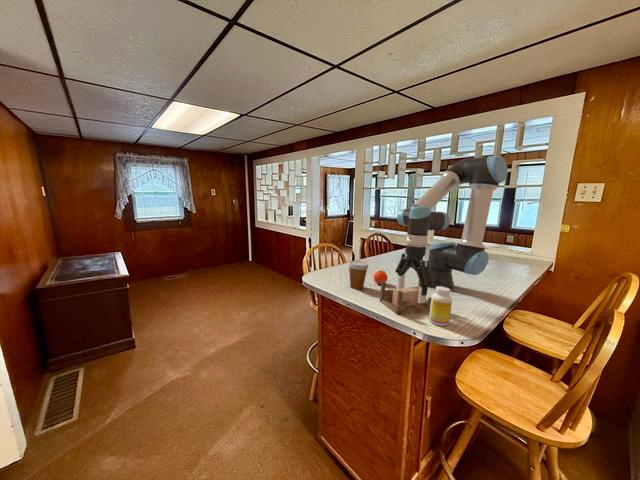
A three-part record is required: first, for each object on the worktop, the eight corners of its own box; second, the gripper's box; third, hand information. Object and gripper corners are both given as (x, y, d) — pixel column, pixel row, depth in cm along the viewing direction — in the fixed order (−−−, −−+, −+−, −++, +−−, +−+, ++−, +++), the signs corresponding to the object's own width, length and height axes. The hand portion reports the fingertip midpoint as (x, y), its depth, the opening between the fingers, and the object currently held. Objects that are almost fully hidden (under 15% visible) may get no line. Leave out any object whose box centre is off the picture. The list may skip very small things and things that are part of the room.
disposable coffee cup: (367, 285, 131) (369, 262, 129) (365, 291, 122) (367, 266, 120) (348, 282, 133) (350, 259, 131) (345, 288, 124) (347, 264, 122)
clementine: (377, 280, 140) (379, 267, 139) (390, 283, 136) (391, 270, 135) (370, 283, 134) (371, 270, 133) (383, 287, 130) (384, 273, 129)
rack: (419, 298, 117) (421, 278, 116) (440, 310, 105) (443, 289, 103) (379, 301, 111) (381, 281, 109) (397, 314, 99) (399, 292, 97)
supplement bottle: (451, 328, 90) (456, 292, 88) (431, 325, 92) (435, 290, 89) (445, 319, 97) (450, 286, 95) (426, 317, 98) (430, 284, 96)
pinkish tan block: (418, 299, 112) (419, 286, 111) (425, 303, 109) (426, 289, 108) (392, 303, 106) (393, 289, 105) (398, 307, 103) (400, 292, 102)
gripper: (390, 239, 114) (385, 286, 118) (430, 252, 91) (423, 309, 94) (405, 240, 117) (400, 285, 120) (447, 251, 93) (439, 307, 97)
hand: (410, 296), depth 107 cm, fingers open, 13 cm apart
